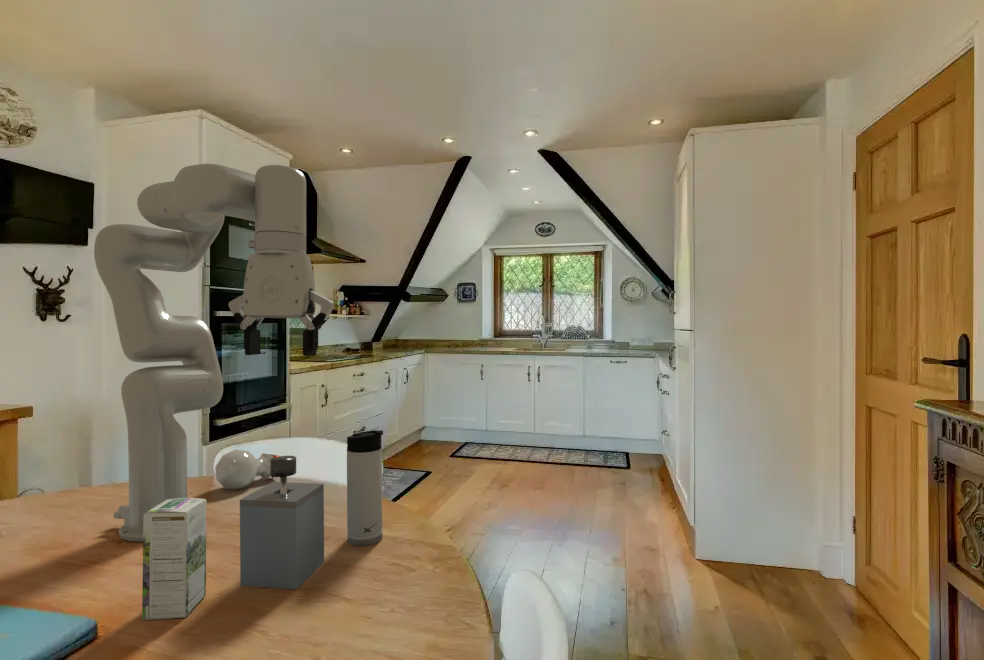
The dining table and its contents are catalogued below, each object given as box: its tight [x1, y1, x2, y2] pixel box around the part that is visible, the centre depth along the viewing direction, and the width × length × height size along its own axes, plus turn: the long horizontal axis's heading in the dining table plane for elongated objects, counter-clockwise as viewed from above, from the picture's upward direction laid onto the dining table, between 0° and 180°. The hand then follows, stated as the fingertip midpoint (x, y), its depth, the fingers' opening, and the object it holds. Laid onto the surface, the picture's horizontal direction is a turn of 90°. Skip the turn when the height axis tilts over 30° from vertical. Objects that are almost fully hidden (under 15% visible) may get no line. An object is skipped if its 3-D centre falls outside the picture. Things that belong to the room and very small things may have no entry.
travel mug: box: [346, 429, 384, 547], centre depth 94 cm, size 6×7×20 cm
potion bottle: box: [214, 449, 280, 490], centre depth 127 cm, size 9×10×15 cm
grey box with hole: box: [239, 481, 325, 590], centre depth 81 cm, size 9×9×13 cm
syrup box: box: [141, 497, 208, 621], centre depth 71 cm, size 6×6×14 cm
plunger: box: [270, 455, 297, 494], centre depth 81 cm, size 6×6×15 cm
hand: (281, 354), depth 81 cm, fingers open, 9 cm apart
